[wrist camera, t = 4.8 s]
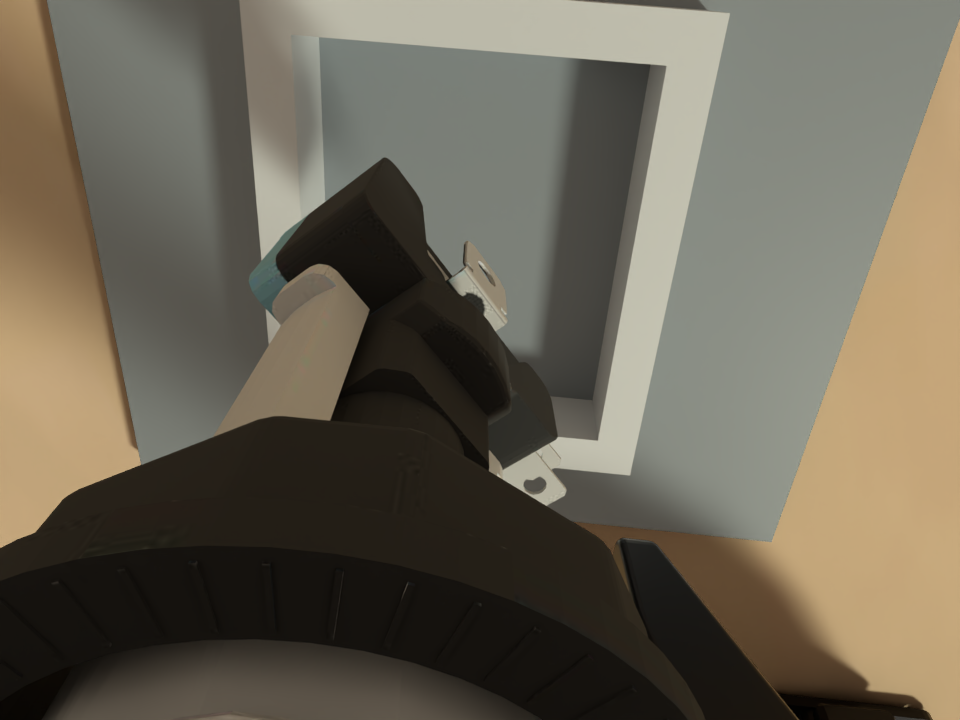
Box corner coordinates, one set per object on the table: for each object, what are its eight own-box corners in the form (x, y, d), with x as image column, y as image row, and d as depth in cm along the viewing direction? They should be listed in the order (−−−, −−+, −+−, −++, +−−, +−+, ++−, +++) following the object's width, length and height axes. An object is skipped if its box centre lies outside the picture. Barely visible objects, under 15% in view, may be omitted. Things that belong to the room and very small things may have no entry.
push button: (658, 388, 13) (1039, 1221, 4) (432, 516, 14) (357, 1338, 6) (447, 77, 11) (270, 502, 2) (199, 270, 12) (-615, 1052, 3)
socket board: (764, 524, 22) (792, 590, 20) (155, 462, 23) (110, 519, 21) (1003, -167, 14) (1105, -200, 11) (22, -237, 14) (-84, -283, 12)
